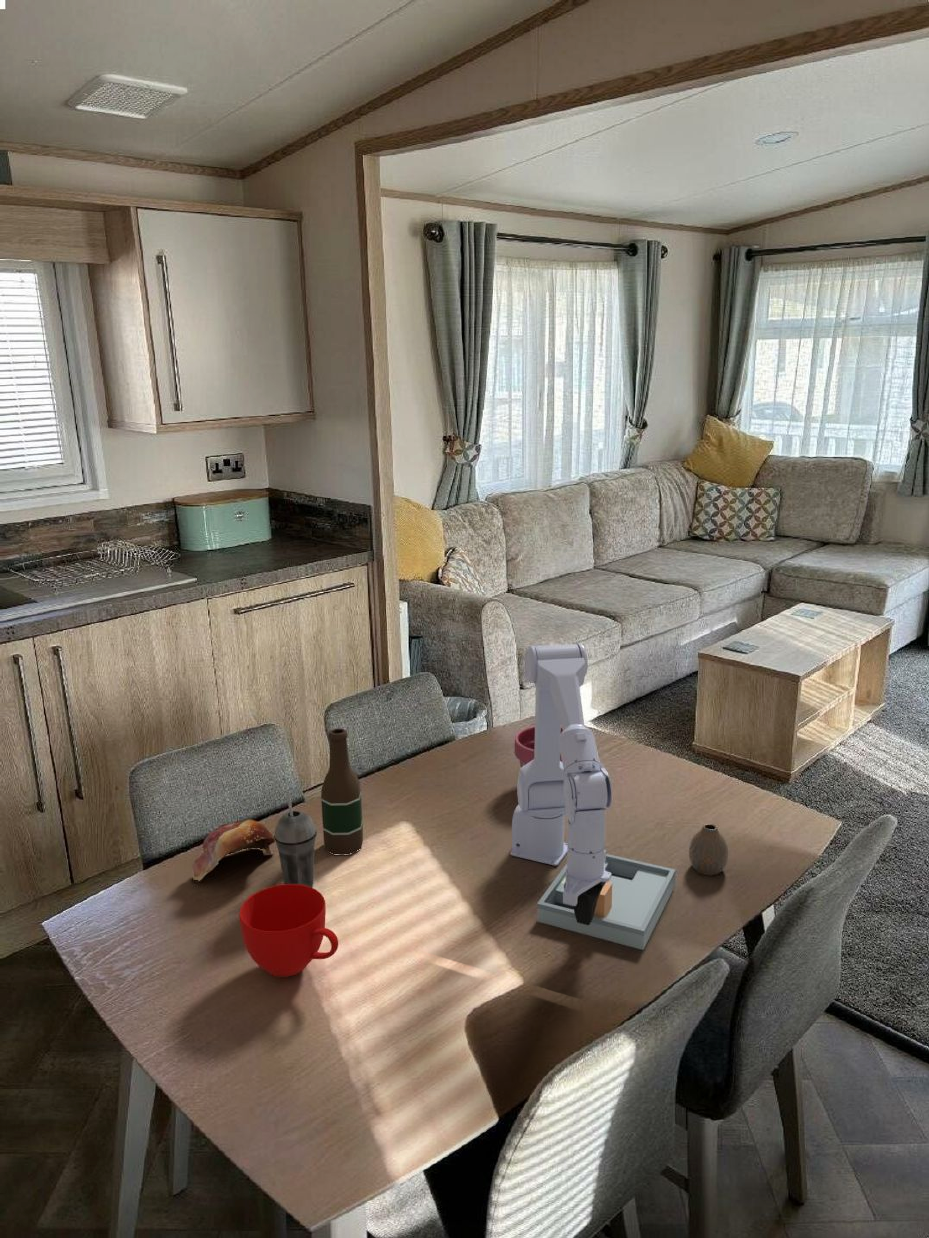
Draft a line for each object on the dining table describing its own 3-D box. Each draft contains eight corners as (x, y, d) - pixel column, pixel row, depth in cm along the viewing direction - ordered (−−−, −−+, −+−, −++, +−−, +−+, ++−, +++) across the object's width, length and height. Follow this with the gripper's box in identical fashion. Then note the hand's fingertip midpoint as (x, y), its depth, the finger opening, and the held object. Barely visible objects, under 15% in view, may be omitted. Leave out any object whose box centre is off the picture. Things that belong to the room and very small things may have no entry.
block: (580, 913, 148) (581, 889, 146) (588, 901, 151) (589, 877, 150) (604, 919, 146) (604, 895, 145) (611, 907, 149) (612, 883, 148)
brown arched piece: (261, 843, 177) (257, 796, 174) (291, 869, 167) (288, 820, 165) (182, 870, 167) (177, 822, 165) (210, 900, 158) (205, 849, 155)
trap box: (537, 921, 150) (537, 903, 149) (578, 863, 167) (578, 847, 166) (643, 950, 142) (644, 931, 141) (674, 886, 159) (675, 869, 159)
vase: (728, 882, 161) (731, 837, 158) (688, 878, 162) (691, 834, 160) (725, 862, 167) (728, 819, 165) (687, 858, 169) (689, 816, 166)
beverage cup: (328, 887, 161) (322, 784, 156) (305, 908, 155) (297, 802, 149) (294, 878, 164) (287, 777, 159) (270, 899, 158) (261, 794, 152)
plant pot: (583, 807, 189) (584, 750, 185) (516, 808, 189) (515, 751, 186) (576, 777, 203) (577, 724, 199) (513, 778, 203) (513, 725, 199)
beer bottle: (316, 852, 173) (308, 735, 166) (336, 833, 180) (330, 720, 173) (352, 859, 170) (345, 741, 164) (371, 840, 177) (366, 726, 170)
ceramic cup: (309, 1011, 130) (305, 951, 127) (226, 972, 139) (220, 915, 136) (365, 962, 140) (362, 905, 138) (284, 929, 149) (280, 875, 146)
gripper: (595, 873, 131) (593, 954, 135) (625, 829, 144) (622, 904, 148) (550, 862, 135) (549, 941, 138) (582, 820, 147) (581, 893, 151)
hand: (584, 921), depth 143 cm, fingers closed
